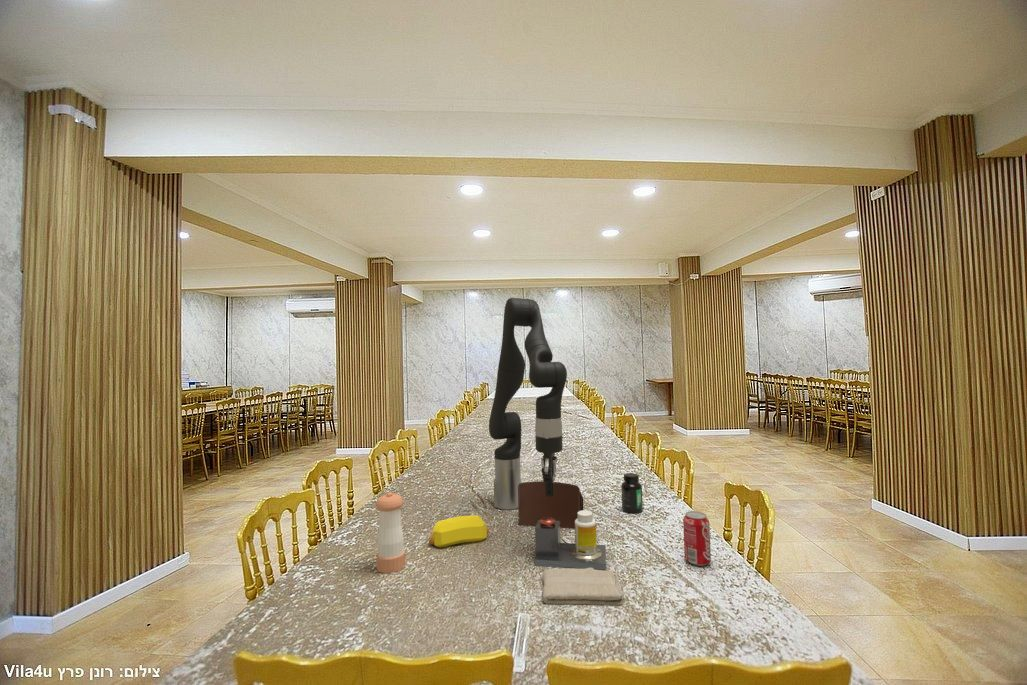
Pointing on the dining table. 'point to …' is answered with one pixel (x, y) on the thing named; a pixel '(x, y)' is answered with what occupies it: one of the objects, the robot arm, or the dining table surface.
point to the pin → (547, 521)
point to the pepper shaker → (390, 534)
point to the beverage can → (697, 538)
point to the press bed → (563, 551)
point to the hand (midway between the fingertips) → (549, 495)
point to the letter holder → (549, 503)
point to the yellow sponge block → (458, 531)
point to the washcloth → (581, 587)
